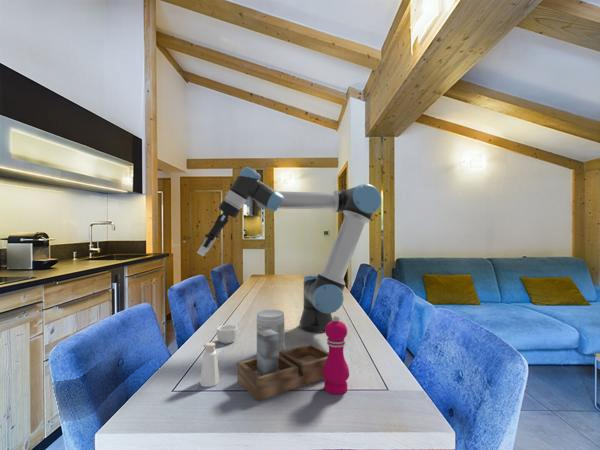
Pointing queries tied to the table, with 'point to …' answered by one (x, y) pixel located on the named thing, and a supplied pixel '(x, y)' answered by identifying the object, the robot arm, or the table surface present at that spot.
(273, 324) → the supplement tub
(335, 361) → the pepper mill
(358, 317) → the table surface
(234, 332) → the teacup
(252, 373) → the wooden condiment caddy
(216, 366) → the pepper shaker
